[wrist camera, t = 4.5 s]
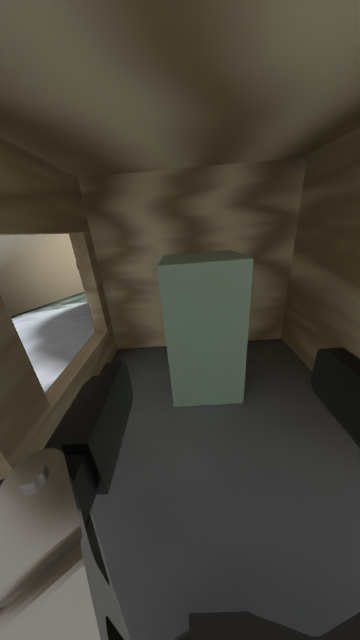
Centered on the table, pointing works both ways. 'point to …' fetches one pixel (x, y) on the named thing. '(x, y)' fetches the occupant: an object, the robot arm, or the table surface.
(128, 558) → the table surface
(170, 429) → the table surface
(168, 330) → the block
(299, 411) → the table surface
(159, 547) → the table surface
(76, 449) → the robot arm
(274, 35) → the box
